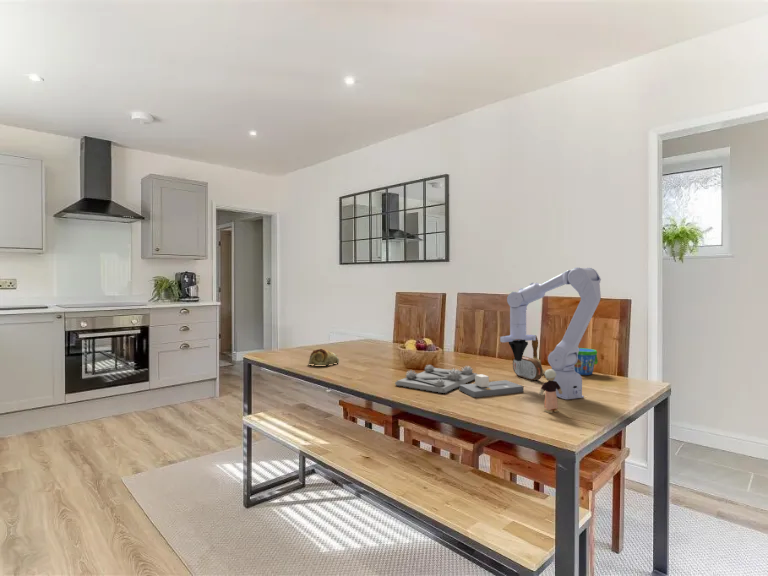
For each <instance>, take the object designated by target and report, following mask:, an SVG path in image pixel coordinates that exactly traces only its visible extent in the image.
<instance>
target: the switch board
mask: <svg viewBox="0 0 768 576" xmlns="http://www.w3.org/2000/svg"><path fill="white" fill-rule="evenodd" d="M458 390H460V391H459V392H461V391H462V393H463V392H464V394H466V395H468V396H469V397H472V398H474V397H476V398H482V397H483V396H484V397H491V396H492V395H493V396H500V395H509V394H518V393H525V392H524V390H525V389H524V386H523V385H522V384H518V383H515V382H512V381H510V380H507V379H503V380H495V381H494V380H493V381H489V387H479V386H477V385H475V382H474V383H467V384H463V385H459V387H458Z"/></svg>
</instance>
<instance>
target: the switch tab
mask: <svg viewBox="0 0 768 576" xmlns="http://www.w3.org/2000/svg"><path fill="white" fill-rule="evenodd" d="M489 379H490V376H488V375H485V374H483V373H481V374H480V373H479V374H478V375H475V380H474V383H475V385H477V386H479V387H489V382H490V380H489Z"/></svg>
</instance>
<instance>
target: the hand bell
mask: <svg viewBox="0 0 768 576" xmlns="http://www.w3.org/2000/svg"><path fill="white" fill-rule="evenodd" d="M531 346H532V350H533V351H532V358H533V359H536V360H537V361H538V362H539V363H540V364H541V367H542V360H541V359H539V358H538V348H539V339H538V336H537V335H536V340H531ZM542 371H543V372H542V375H545V371H546V370H544V369H543V367H542Z"/></svg>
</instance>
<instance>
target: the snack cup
mask: <svg viewBox="0 0 768 576" xmlns="http://www.w3.org/2000/svg"><path fill="white" fill-rule="evenodd" d="M597 354H598V351H597V349H594V348H593V349H592V348H588V347H587V348H583V347H579V352H578V360H577V363H576V364H575V365H574V370H575V372H576V373H579V374H580V375H581V376H589V375H590V376H591V375H593V373H594V367H595V365H598V363H599V362H598V361H599V360H598V359H599V358H598V355H597Z"/></svg>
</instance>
